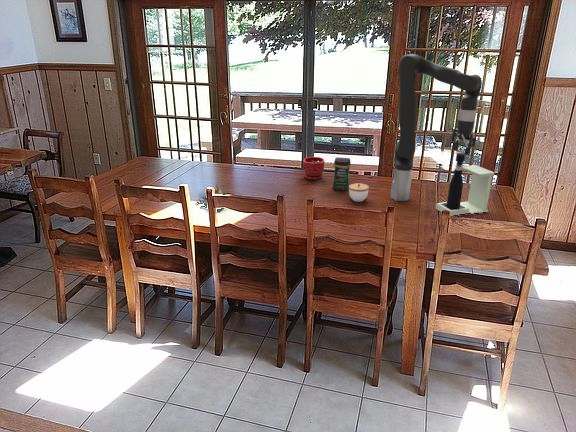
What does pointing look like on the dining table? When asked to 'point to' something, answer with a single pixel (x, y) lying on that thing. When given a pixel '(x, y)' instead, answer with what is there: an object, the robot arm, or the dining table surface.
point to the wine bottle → (456, 185)
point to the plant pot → (313, 167)
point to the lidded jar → (358, 191)
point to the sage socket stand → (473, 192)
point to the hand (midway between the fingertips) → (461, 152)
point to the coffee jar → (341, 173)
